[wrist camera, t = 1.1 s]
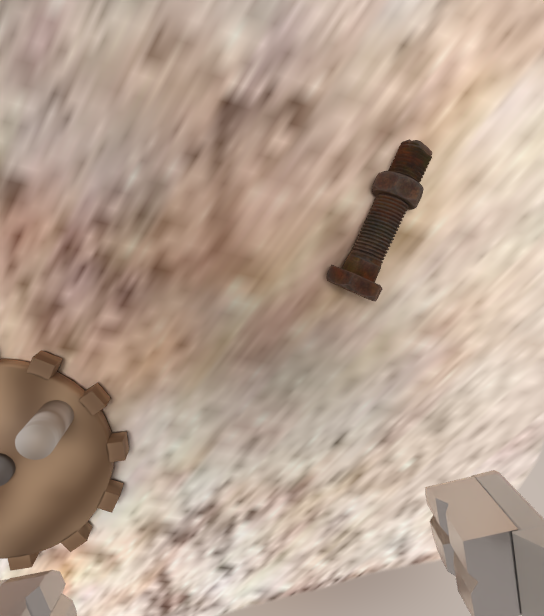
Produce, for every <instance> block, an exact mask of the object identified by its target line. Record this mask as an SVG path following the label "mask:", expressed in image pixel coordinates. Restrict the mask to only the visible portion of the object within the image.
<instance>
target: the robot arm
mask: <svg viewBox="0 0 544 616" xmlns="http://www.w3.org/2000/svg"><path fill="white" fill-rule="evenodd" d="M425 495H426V501H427V505H428V506H429V508H430V510H431V512H432V513H433V517H432V519H431V520H430V524H431V529H432V534H433V538H434V541H435V544H436V547H437V550H438V552H439V555H440V557H441V559H442V561H443V563H444V565H445V567H446V569H447V571H448V572H450V573H451V574H453V575H455V576H456V581H457V587H458V592H459V593H460V595H461V597H462V599H463V601H464V603H465V604H466V606H467V608H468V610H469V612H470V614H471V616H519V615H522V616H544V518H543V517H542V516H541V515H540V514H539V513H538V512H537V511H536V510H535V509H534V508H533V507H532V506H531V505H530V504H529V503H528V502H527V501H526V500H525V499H524V498H523V497H522V496H521V495H520V494H519V492H518V491H517V490H516V489H515V488H514V487H513V486H512V485H511V484H510V483H509V482H508V481H507V480H506V479H505V478H504V477H503V476H502V475H501V474H500V473H499V472H497V471H495V470H493V471H489V472H485V473H481V474H477V475H473V476H471V477H467V478H463V479H459V480H454V481H450V482H446V483H441V484H437V485H432V486H428V487H425ZM64 587H65V582H64V580H63V577H62V575H61V573H60V572H59V571H55V570H50V571H45V572H40V573H35V574H30V575H25V576H20V577H15V578H10V579H7V580H2V581H0V616H77V613H76V608H75V606H74V603H73V601H72V600H71V599H69V598H68V597H66V596H65V595H63V594H62V592H63V590H64Z"/></svg>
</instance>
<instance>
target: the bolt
mask: <svg viewBox="0 0 544 616" xmlns="http://www.w3.org/2000/svg"><path fill="white" fill-rule="evenodd" d="M431 155H432V151H431V150H430V149H429V148H428V147H427V146H426V145H424V144H423V143H422V142H421V141H418V140H414V141H411V140H410V139H409V140H406V141H404V142H402V143H401V146H400V147H399V149H398V152H397V153H396V156H395V159H394V160H393V163H392V166H390V169H389V170H388V171H384V172H381V173H379V174H378V175H377V177H376V179H375V182H374V184H373V189H372V192H373V194H374V195H375V196H376V199H375V202H374V203H373V204H374V205H372V208H371V209H370V212H369V215H368V218H366V221H365V222H364V223H365V224H364V225H363V227H364V228H362V229H361V230H362V231H360V234H359V235H358V236H359V237H358V238H357V241H356V244H354V246H355V247H353V248H352V249H353V250H351V253H350V254H349V255H348V257H347V259H346V261H345V263H344V265H343V267H342V268H339V267H336V266H334V265H331V267H330V269H329V272H328V274H327V281H329V282H331V283H334V284H336V285H338V286H340V287H342V288H344V289H346V290H349V291H351V292H353V293H356V294H358V295H360V296H362V297H364V298H367V299H370V300H372V301H376V300H377V299H378V297H379V294H380V292H381V290H382V287H381V286H380V285H378V284H376V283H374V282H375V280H376V278H377V276H378V273H379V271H380V269H381V263H383V261H382V260H384V258H383V257H385V256H386V255H385V254H386V253H387V251H386V250H389V249H388V247H390V243H392V241H391V240H394V239H393V237H395V235H394V234H396V231H398V229H397V228H399V224H401V222H400V221H402V218H403V217H404V216H403V215H404V214H406V213H405V211H407V209H408V210H411V209H414V208H416V207H417V205H418V203H419V201H420V199H421V197H422V193H423V187H422V185H421V184H420V183H419V182H420V181H421V178H423V176H422V175H424V172H425V171H426V168H427V167H428V166H427V165H428V164H429V162H430V161H431V158H432V156H431Z"/></svg>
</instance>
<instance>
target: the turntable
mask: <svg viewBox="0 0 544 616" xmlns="http://www.w3.org/2000/svg"><path fill="white" fill-rule="evenodd" d="M61 361H62V358H60V357H57V356H54V355H52V354H49V353H47V352H44V351H40V352H39V353H38V354H36V355H35V356H34V357H33V358H32V360H31V363H30V362H25V361H20V360H9V359H0V558H8V562H9V566H10V571H11V570H17V569H23V568H29V567H32V566H33V564H34V562H35V560H36V558H37V556H38V554H39V552H40V551H43V550H46V549H48V548H51V547H53V546H55V545H57V544H59V543H62V544H63V545H64V546H65V547H66V548H67V549H68V550H69V551H70V552H71V551H73V550H74V549H76V548H77V547H78V546H80V545H81V544H83V543H84V542H86V541H87V539H88V537H89V534H90V531H91V529H92V526H91V525H90V524H89V523H88V522H87V521H88V520H89V519H90V518H91V517H92V515H93V514H94V513H95V511H96V510H97V508H99V509H102V510H106V511H109V512H112V511H113V509H114V507H115V505H116V503H117V501H118V499H119V496H120V494H121V490H122V487H123V484H124V483H121V482H118V481H115V480H112V479H110V478H111V475H112V470H113V466H114V462H115V461H123V460H125V459H126V457H127V454H128V451H129V445H128V439H127V432H119V433H111V430H110V427H109V425H108V422H107V420H106V418H105V416H104V414H103V413H102V411H101V410H102V409H103V408H105V407H106V405H107V403H108V402H109V400H110V397H109V395H108V394H107V393H106V392H105V391H104V390H103V388H102V387H101V386H100V385H99V384H98V383H96V384H95V385H93V386H92V387H90V388H89V389H88V390H86V391H85V390H84V389H82V388H81V387H80V386H79V385H77V384H76V383H75V382H73V381H72V380H70V379H69V378H67V377H65V376H64V375H62V374H60V373H58V372H57V370H58V368H59V366H60V363H61Z"/></svg>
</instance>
